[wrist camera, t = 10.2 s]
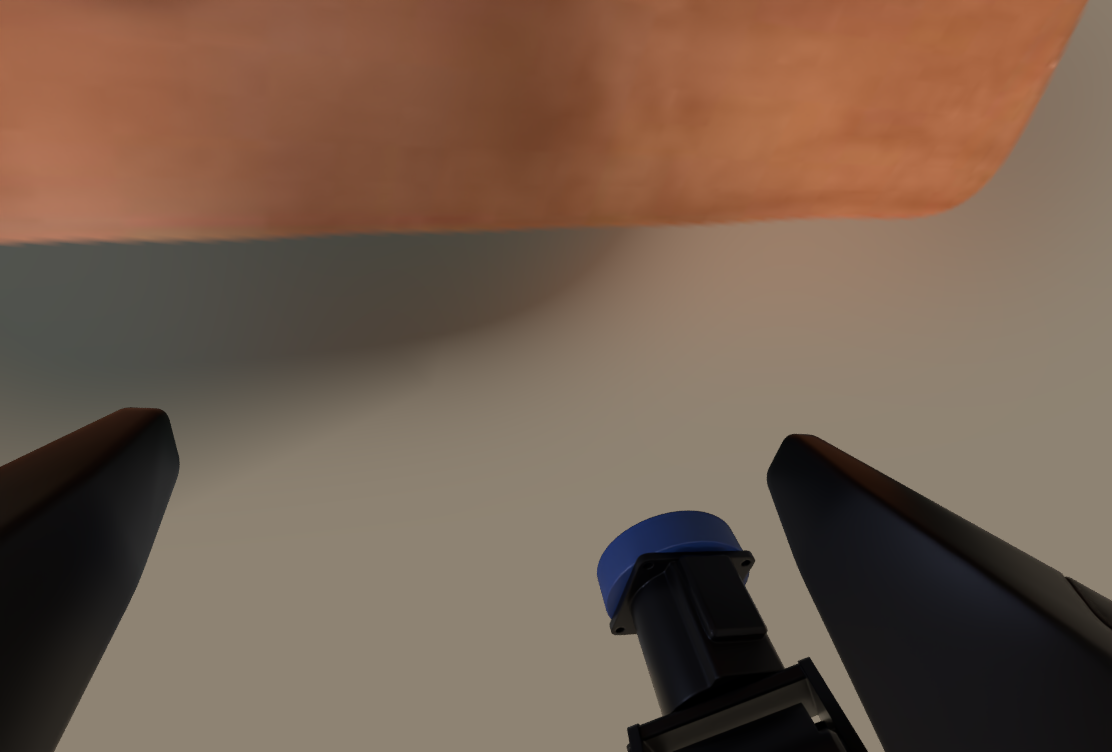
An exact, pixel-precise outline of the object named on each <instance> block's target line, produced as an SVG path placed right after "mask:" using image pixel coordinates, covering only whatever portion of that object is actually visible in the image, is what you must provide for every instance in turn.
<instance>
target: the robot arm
mask: <svg viewBox="0 0 1112 752" xmlns="http://www.w3.org/2000/svg"><path fill="white" fill-rule="evenodd" d="M179 465H180V464H179V455H178V452H177V448H176V444H175V440H174V436H173V432H172V428H171V424H170V420H169V418H168V415H167V414H166V413H165V412H164V411H163V410H161V409H157V408H132V407H130V408H123V409H120V410H118V411H116V412H114V413H112V414H110V415H107V416H105V417H103V418H101V419H99V420H97V421H95V422H93V423H91V424H89V425H87V426H85V427H82V428H80V429H78V430H76V431H74V432H72V433H70V434H68V435H66V436H64V437H62V438H60V439H57V440H55V441H53V442H51V443H49V444H47V445H45V446H43V447H41V448H39V449H37V450H34V451H32V452H30V453H28V454H26V455H24V456H22V457H20V458H18V459H16V460H14V461H12V462H10V463H8V464H5V465H3V466H1V467H0V752H54V751H55V749H56V747H57V744H58V743H59V741H60V739H61V737H62V735H63V733H64V731H65V729H66V727H67V725H68V723H69V721H70V719H71V717H72V715H73V713H74V711H75V709H76V707H77V705H78V703H79V701H80V699H81V697H82V695H83V693H84V691H85V689H86V687H87V685H88V683H89V681H90V679H91V678H92V676H93V674H94V672H95V670H96V668H97V666H98V664H99V662H100V660H101V658H102V656H103V654H104V652H105V650H106V648H107V646H108V644H109V642H110V640H111V638H112V636H113V634H114V632H115V630H116V628H117V626H118V624H119V622H120V620H121V618H122V616H123V614H124V612H125V610H126V608H127V606H128V604H129V602H130V600H131V598H132V596H133V594H134V592H135V590H136V587H137V585H138V583H139V580H140V578H141V575H142V572H143V570H144V567H145V565H146V562H147V559H148V557H149V554H150V551H151V548H152V546H153V543H154V540H155V537H156V535H157V532H158V529H159V526H160V524H161V521H162V518H163V515H164V513H165V510H166V507H167V504H168V502H169V499H170V496H171V493H172V490H173V488H174V485H175V483H176V480H177V476H178V473H179ZM767 484H768V487H769V490H770V493H771V495H772V499H773V501H774V504H775V507H776V510H777V512H778V515H779V518H780V521H781V523H782V526H783V529H784V532H785V534H786V536H787V540H788V543H789V545H790V548H791V550H792V554H793V556H794V559H795V561H796V564H797V566H798V569H799V571H800V573H801V575H802V578H803V580H804V582H805V584H806V586H807V588H808V591H809V593H810V595H811V597H812V599H813V601H814V603H815V605H816V607H817V610H818V612H819V614H820V616H821V618H822V620H823V622H824V624H825V626H826V628H827V631H828V632H829V635H830V637H831V639H832V641H833V643H834V645H835V647H836V649H837V652H838V654H839V655H840V658H841V660H842V662H843V664H844V666H845V669H846V670H847V673H848V675H849V677H850V679H851V681H852V683H853V685H854V687H855V690H856V692H857V694H858V696H859V698H860V700H861V702H862V704H863V706H864V708H865V711H866V713H867V715H868V717H869V719H870V721H871V723H872V725H873V727H874V730H875V731H876V734H877V736H878V738H879V740H880V742H881V744H882V746H883V749H884V751H885V752H1112V601H1111V600H1110V599H1108V598H1106V597H1104V596H1102V595H1100V594H1098V593H1097V592H1095V591H1093V590H1091V589H1089V588H1088V587H1086V586H1084V585H1082V584H1081V583H1079V582H1077V581H1075V580H1073V579H1072V578H1070V577H1064V576H1063V574H1062V573H1060V572H1059V571H1057V570H1055V569H1054V568H1052V567H1050V566H1048V565H1046V564H1045V563H1043V562H1041V561H1039V560H1037V559H1035V558H1033V557H1032V556H1030V555H1028V554H1027V553H1025V552H1023V551H1021V550H1019V549H1017V548H1016V547H1014V546H1012V545H1010V544H1009V543H1007V542H1005V541H1003V540H1001V539H1000V538H998V537H996V536H994V535H992V534H991V533H989V532H987V531H985V530H983V529H982V528H980V527H978V526H976V525H975V524H973V523H971V522H969V521H967V520H965V519H963V518H962V517H960V516H958V515H956V514H955V513H953V512H951V511H949V510H948V509H946V508H944V507H942V506H940V505H939V504H937V503H935V502H933V501H931V500H930V499H928V498H926V497H924V496H922V495H921V494H919V493H917V492H915V491H913V490H912V489H910V488H908V487H906V486H905V485H903V484H901V483H899V482H897V481H895V480H894V479H892V478H890V477H888V476H887V475H885V474H883V473H881V472H879V471H878V470H875V469H874V468H872V467H870V466H869V465H867V464H865V463H863V462H861V461H859V460H858V459H856V458H854V457H852V456H851V455H849V454H847V453H845V452H843V451H842V450H840V449H838V448H836V447H835V446H833V445H831V444H829V443H827V442H826V441H824V440H822V439H820V438H818V437H816V436H814V435H807V434H792V435H789V436H787V437H786V438H785V439H784V440H783V442H782V444H781V446H780V448H779V450H778V452H777V454H776V455H775V457H774V460H773V462H772V463H771V465H770V467H769V469H768V472H767ZM754 562H755V559H754V557H753V555H752V553H751V552H750V551H705V552H665V553H645V554H642V555H640V556H639V557H638V558H637V560H636V562H635V564H634V567H633V569H632V571H631V574H630V576H629V579H628V581H627V583H626V586H625V588H624V591H623V593H622V595H621V598H620V600H619V603H618V605H617V608H616V610H615V612H614V615H613V617H612V620H611V622H610V629H611V632H612V634H614V635H628V634H637V635H638V638H639V642H640V645H641V648H642V651H643V654H644V658H645V661H646V664H647V667H648V671H649V674H650V677H651V680H652V683H653V687H654V690H655V693H656V696H657V699H658V703H659V706H660V709H661V712H662V715H663V716H662V717H660V718H657V719H655V720H652V721H650V722H647V723H645V724H642V725H639V724H635V725H633V726H630V727H628V728H627V731H628V736H629V744H628V745H627V750H628V752H868V751H867V750H866V748H865V746H864V745H863V743H862V741H861V740H860V738H859V736H858V735H857V733H856V732H855V730H854V728H853V727H852V725H851V723H850V722H849V720H848V719H847V717H846V715H845V714H844V712H843V710H842V709H841V707H840V706H839V704H838V702H837V701H836V699H835V698H834V696H833V694H832V693H831V691H830V689H829V688H828V686H827V685H826V683H825V681H824V680H823V678H822V677H821V675H820V673H819V672H818V670H817V668H816V667H815V665H814V663H813V662H812V660H811V659H810V657H807V658H804V659H802V660H800V661H798V664H796V665H793V666H791V667H788V668H786V669H785V668H784V666H783V664H782V662H781V660H780V658H779V656H778V655H777V652H776V650H775V649H774V647H773V645H772V643H771V641H770V639H769V637H768V635H767V627H766V625H765V623H764V621H763V619H762V618H761V615H760V614H759V612H758V610H757V608H756V606H755V604H754V602H753V600H752V598H751V596H750V594H749V593H748V591H747V589H746V587H745V585H744V583H743V581H744V579H745V577H746V576H747V574H748V573H749V571H750V569H751V568H752V566H753V564H754ZM816 715H819V717H820V719H821V721H820V722H818V723H815V724H814V722H813V720H812V719H811V717H813V716H816Z"/></svg>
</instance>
